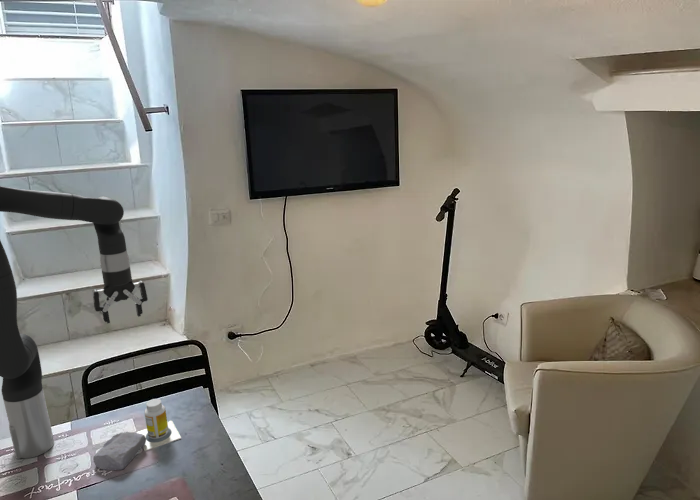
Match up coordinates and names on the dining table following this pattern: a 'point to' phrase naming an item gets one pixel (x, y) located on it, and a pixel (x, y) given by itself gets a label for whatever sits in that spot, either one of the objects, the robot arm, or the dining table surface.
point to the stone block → (119, 451)
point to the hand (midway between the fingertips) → (123, 319)
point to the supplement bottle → (156, 419)
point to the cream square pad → (168, 438)
